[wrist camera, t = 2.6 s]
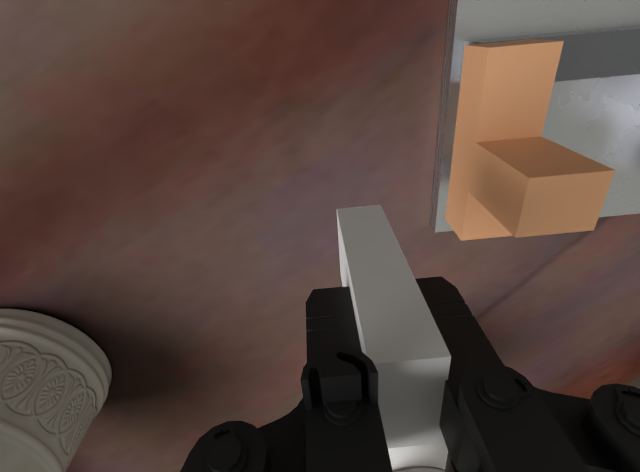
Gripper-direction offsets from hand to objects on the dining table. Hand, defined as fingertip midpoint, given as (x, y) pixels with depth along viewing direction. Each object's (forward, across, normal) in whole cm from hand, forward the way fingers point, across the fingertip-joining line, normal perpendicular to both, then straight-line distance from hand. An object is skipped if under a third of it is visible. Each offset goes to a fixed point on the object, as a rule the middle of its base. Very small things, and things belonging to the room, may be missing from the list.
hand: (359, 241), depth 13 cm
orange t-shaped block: (+10, +8, +1) cm, 12 cm away
